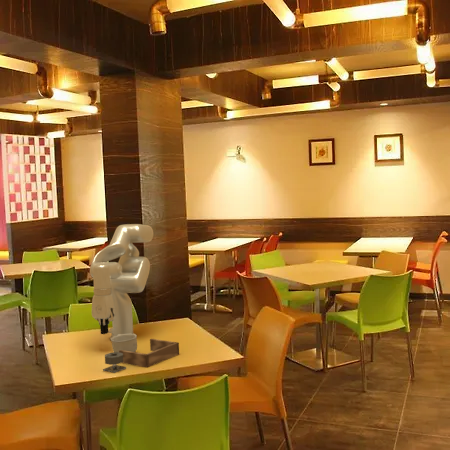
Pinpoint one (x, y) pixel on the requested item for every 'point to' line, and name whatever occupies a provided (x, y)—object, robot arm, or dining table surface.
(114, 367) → the axle mount
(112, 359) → the wheel
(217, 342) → the dining table surface
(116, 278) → the robot arm
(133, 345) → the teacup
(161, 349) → the bay
